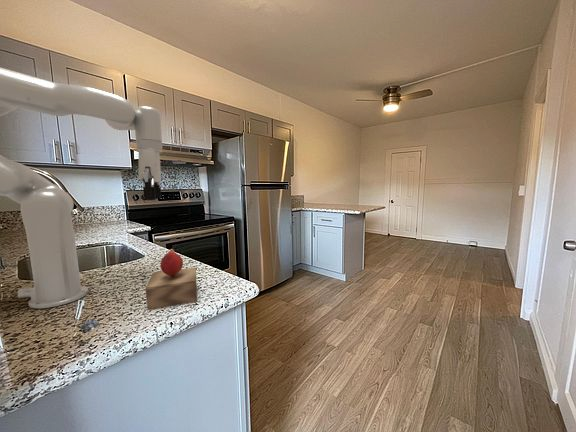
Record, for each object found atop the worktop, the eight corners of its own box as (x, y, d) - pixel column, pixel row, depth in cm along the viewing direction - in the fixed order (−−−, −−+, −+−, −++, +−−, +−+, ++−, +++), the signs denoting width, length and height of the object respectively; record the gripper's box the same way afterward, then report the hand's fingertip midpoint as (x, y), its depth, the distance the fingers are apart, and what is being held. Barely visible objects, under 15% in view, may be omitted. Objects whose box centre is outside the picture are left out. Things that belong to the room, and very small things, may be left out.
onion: (175, 281, 67) (172, 252, 66) (156, 279, 68) (154, 251, 67) (187, 273, 73) (186, 247, 72) (170, 272, 74) (168, 246, 73)
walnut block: (147, 309, 64) (145, 287, 63) (154, 291, 75) (153, 272, 74) (196, 301, 68) (195, 280, 67) (196, 285, 79) (195, 267, 78)
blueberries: (66, 344, 51) (65, 336, 51) (68, 325, 57) (67, 318, 57) (106, 332, 56) (105, 324, 55) (103, 315, 62) (103, 308, 61)
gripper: (143, 150, 88) (147, 198, 90) (128, 142, 71) (133, 201, 73) (166, 151, 90) (169, 198, 92) (157, 143, 74) (160, 200, 76)
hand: (153, 199), depth 83 cm, fingers open, 9 cm apart
